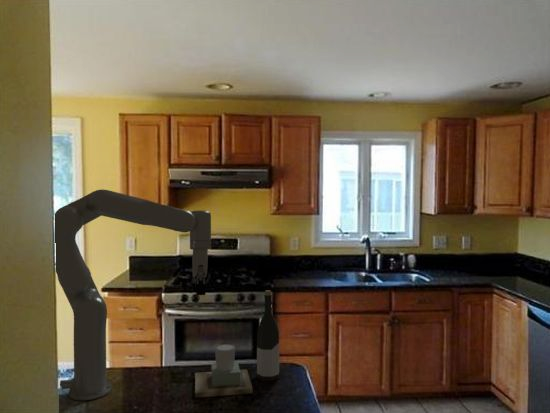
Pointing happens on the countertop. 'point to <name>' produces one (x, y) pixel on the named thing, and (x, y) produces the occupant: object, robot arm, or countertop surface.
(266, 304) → the wine bottle
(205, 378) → the board
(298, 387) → the countertop surface
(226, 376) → the sage block
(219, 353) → the grey tapered cup
